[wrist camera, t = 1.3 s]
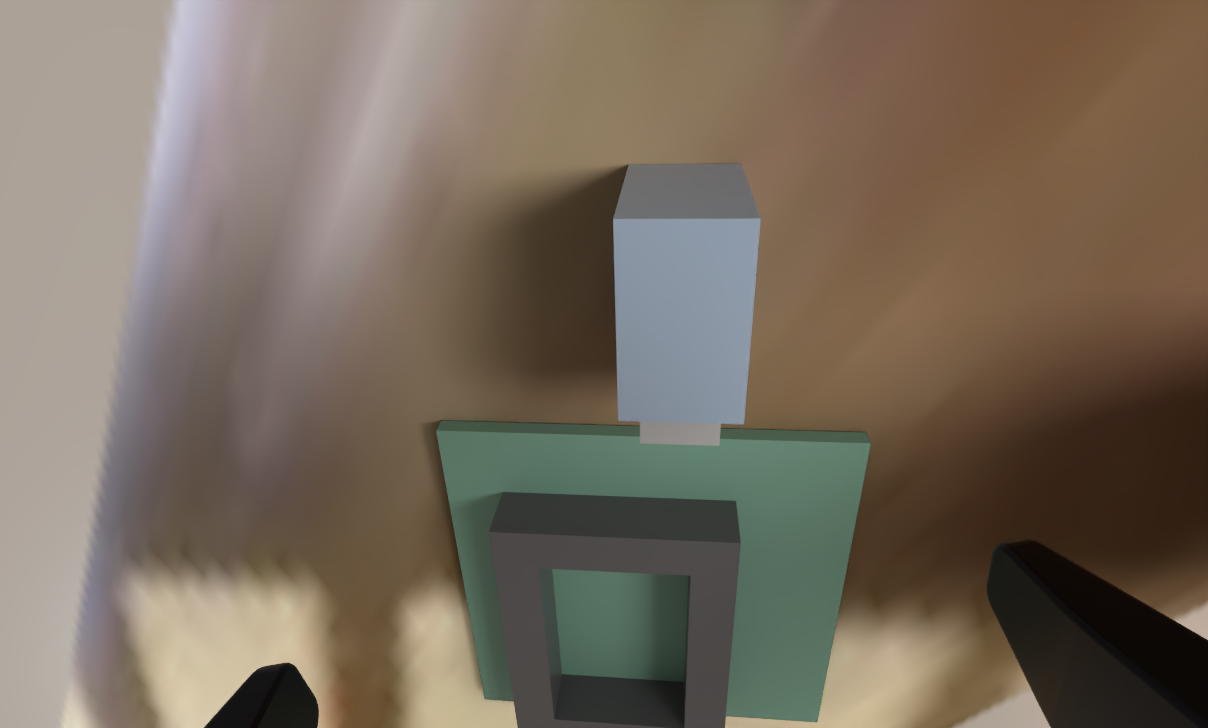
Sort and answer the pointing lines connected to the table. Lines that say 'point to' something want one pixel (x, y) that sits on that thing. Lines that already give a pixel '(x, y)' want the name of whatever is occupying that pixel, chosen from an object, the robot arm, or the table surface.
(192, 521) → the table surface
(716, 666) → the header socket
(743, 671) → the circuit board
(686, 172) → the plug
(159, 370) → the table surface
